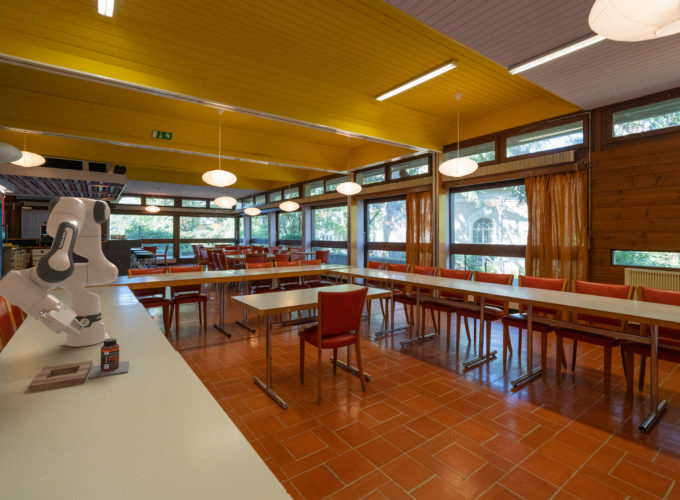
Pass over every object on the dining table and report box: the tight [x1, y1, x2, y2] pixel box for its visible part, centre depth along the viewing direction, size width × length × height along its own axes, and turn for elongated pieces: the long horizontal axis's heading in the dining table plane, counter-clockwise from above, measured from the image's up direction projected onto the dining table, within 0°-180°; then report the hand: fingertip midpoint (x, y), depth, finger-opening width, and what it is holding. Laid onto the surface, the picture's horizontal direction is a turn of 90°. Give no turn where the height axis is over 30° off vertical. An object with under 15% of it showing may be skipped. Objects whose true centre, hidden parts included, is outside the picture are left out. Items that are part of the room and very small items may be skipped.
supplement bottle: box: [100, 338, 120, 371], centre depth 127 cm, size 6×6×11 cm
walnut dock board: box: [28, 359, 93, 393], centre depth 120 cm, size 19×15×2 cm
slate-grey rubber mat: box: [87, 360, 130, 380], centre depth 127 cm, size 12×12×1 cm
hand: (80, 331), depth 122 cm, fingers open, 8 cm apart
